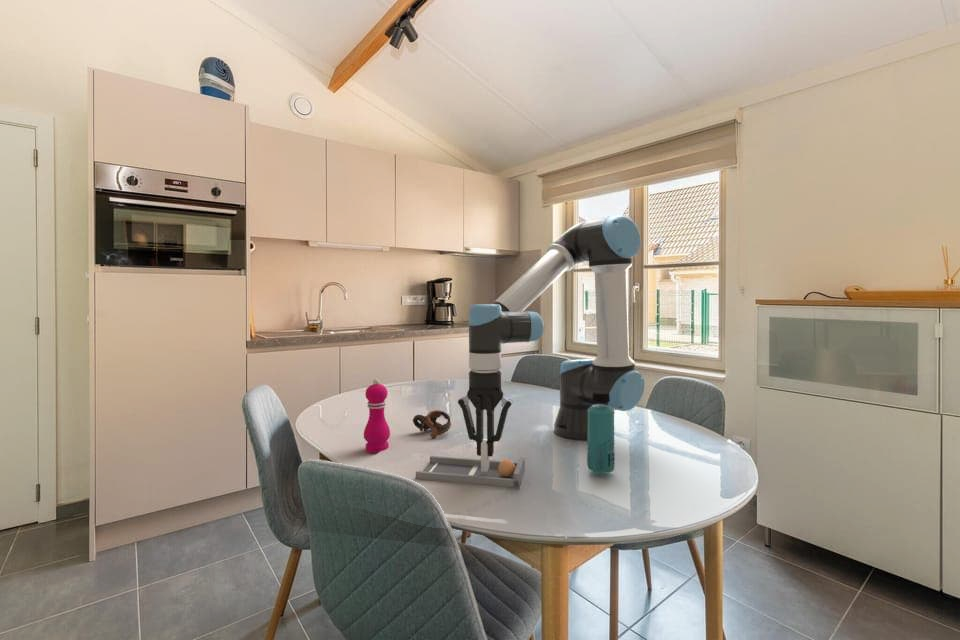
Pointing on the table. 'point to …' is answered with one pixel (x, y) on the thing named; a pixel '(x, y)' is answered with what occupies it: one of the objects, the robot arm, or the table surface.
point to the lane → (470, 471)
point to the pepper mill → (376, 419)
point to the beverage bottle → (600, 435)
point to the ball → (506, 468)
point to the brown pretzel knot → (432, 423)
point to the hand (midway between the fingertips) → (485, 469)
